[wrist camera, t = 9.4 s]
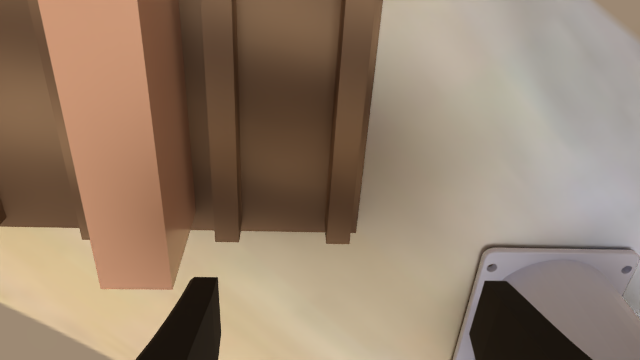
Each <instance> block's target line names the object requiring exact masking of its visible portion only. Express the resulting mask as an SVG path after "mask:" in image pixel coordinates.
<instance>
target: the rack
mask: <svg viewBox="0 0 640 360" xmlns="http://www.w3.org/2000/svg"><path fill="white" fill-rule="evenodd" d="M382 3H383V0H179V12H180V24H181V36H182V49H183V61H184V73H185V85H186V97H187V110H188V122H189V134H190V146H191V158H192V170H193V183H194V195H195V207H196V213H195V216H194V219H193V223H192V226H191V229H190V230H215V242H239V239H240V232H241V231H282V232H325V235H326V244H349V242H350V233H356V227H357V218H358V210H359V201H360V193H361V184H362V175H363V167H364V158H365V150H366V141H367V132H368V124H369V115H370V107H371V98H372V89H373V81H374V72H375V64H376V55H377V46H378V38H379V29H380V20H381V12H382ZM0 226H7V227H62V228H80V232H81V236H82V240H90V237H89V232H88V228H87V223H86V219H85V214H84V210H83V205H82V200H81V196H80V191H79V187H78V182H77V178H76V173H75V168H74V164H73V159H72V155H71V150H70V146H69V141H68V137H67V132H66V127H65V123H64V118H63V114H62V109H61V105H60V100H59V95H58V91H57V86H56V82H55V77H54V73H53V68H52V63H51V59H50V54H49V50H48V45H47V41H46V36H45V31H44V27H43V22H42V18H41V13H40V9H39V4H38V0H0Z"/></svg>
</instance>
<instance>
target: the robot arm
mask: <svg viewBox="0 0 640 360" xmlns="http://www.w3.org/2000/svg"><path fill="white" fill-rule="evenodd" d="M639 260H640V257H639V255H638V254H637V253H636V252H635V251H633V250H611V249H550V248H490V249H487V250H486V251H485V252H484V253H483V255H482V258H481V261H480V265H479V268H478V272H477V275H476V279H475V282H474V286H473V289H472V293H471V296H470V300H469V304H468V307H467V311H466V314H465V318H464V321H463V325H462V328H461V332H460V335H459V339H458V342H457V346H456V350H455V353H454V357H453V360H640V319H639V318H638V316H637V315H636V314H635V313H634V311H633V310H632V309H631V308H630V306H629V305H628V304H627V303H626V301H625V300H624V299H623V298H622V296H623V294H624V292H625V289H626V287H627V285H628V283H629V281H630V279H631V277H632V275H633V273H634V271H635V269H636V267H637V265H638V263H639ZM490 264H493V265H492V266H490V267H488V266H489V265H490ZM625 266H626V267H625ZM623 267H624V268H623ZM220 338H221V323H220V307H219V290H218V277H194V278H193V279H191V280H190V282H189V284H188V285H187V287H186V289H185V291H184V292H183V294H182V296H181V297H180V299H179V301H178V302H177V304H176V305H175V307H174V308H173V310H172V311H171V313H170V314H169V316H168V317H167V319H166V320H165V322H164V323H163V324H162V326H161V327H160V329H159V330H158V331H157V333H156V334H155V335H154V337H153V338H152V340H151V341H150V342H149V343H148V345H147V346H146V347H145V348H144V350H143V351H142V352H141V353H140V355H139V356H138V357H137V358H136V360H218V356H219V347H220Z"/></svg>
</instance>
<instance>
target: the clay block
mask: <svg viewBox="0 0 640 360" xmlns="http://www.w3.org/2000/svg"><path fill="white" fill-rule="evenodd" d="M38 4H39V9H40V13H41V18H42V22H43V27H44V31H45V36H46V41H47V45H48V50H49V54H50V59H51V63H52V68H53V73H54V77H55V82H56V86H57V91H58V95H59V100H60V105H61V109H62V114H63V118H64V123H65V127H66V132H67V137H68V141H69V146H70V150H71V155H72V159H73V164H74V168H75V173H76V178H77V182H78V187H79V191H80V196H81V200H82V205H83V210H84V214H85V219H86V223H87V228H88V232H89V237H90V242H91V246H92V251H93V255H94V260H95V264H96V269H97V274H98V278H99V283H100V287H101V289H167V290H173V286H174V283H175V280H176V276H177V273H178V270H179V266H180V263H181V259H182V256H183V253H184V249H185V246H186V243H187V239H188V236H189V233H190V229H191V226H192V223H193V219H194V216H195V213H196V207H195V195H194V183H193V170H192V158H191V146H190V134H189V122H188V110H187V97H186V85H185V73H184V61H183V49H182V36H181V24H180V12H179V0H38Z"/></svg>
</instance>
